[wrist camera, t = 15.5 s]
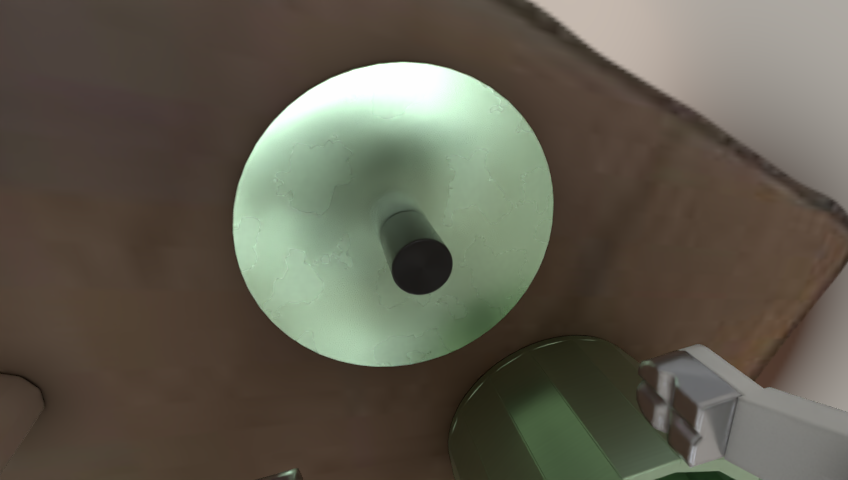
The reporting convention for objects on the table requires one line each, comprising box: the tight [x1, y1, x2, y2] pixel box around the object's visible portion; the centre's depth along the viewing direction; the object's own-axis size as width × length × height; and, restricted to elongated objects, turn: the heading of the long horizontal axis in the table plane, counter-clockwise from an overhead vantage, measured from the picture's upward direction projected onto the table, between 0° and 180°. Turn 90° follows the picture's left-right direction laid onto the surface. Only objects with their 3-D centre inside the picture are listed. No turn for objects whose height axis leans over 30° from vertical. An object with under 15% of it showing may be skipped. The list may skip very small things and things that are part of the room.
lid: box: [232, 61, 554, 367], centre depth 19 cm, size 16×16×5 cm
